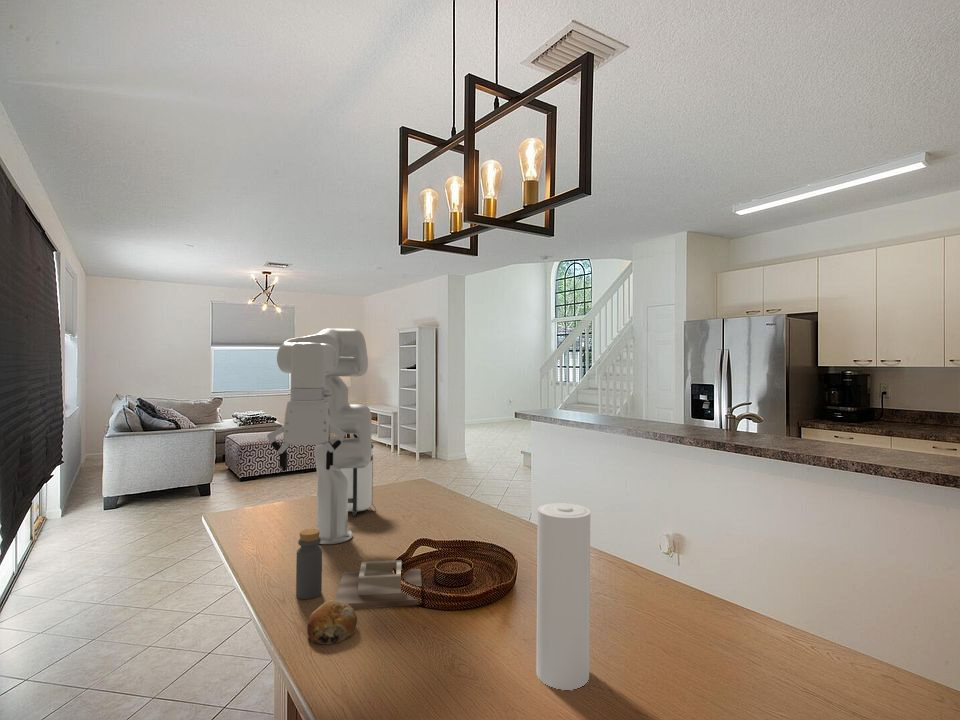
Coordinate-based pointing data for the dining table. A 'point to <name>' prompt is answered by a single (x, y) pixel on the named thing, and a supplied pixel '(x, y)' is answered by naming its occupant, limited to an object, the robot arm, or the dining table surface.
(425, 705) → the dining table surface
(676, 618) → the dining table surface
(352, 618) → the bread roll
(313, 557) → the bottle
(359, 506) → the coffee press
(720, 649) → the dining table surface
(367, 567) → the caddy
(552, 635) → the cylinder container
